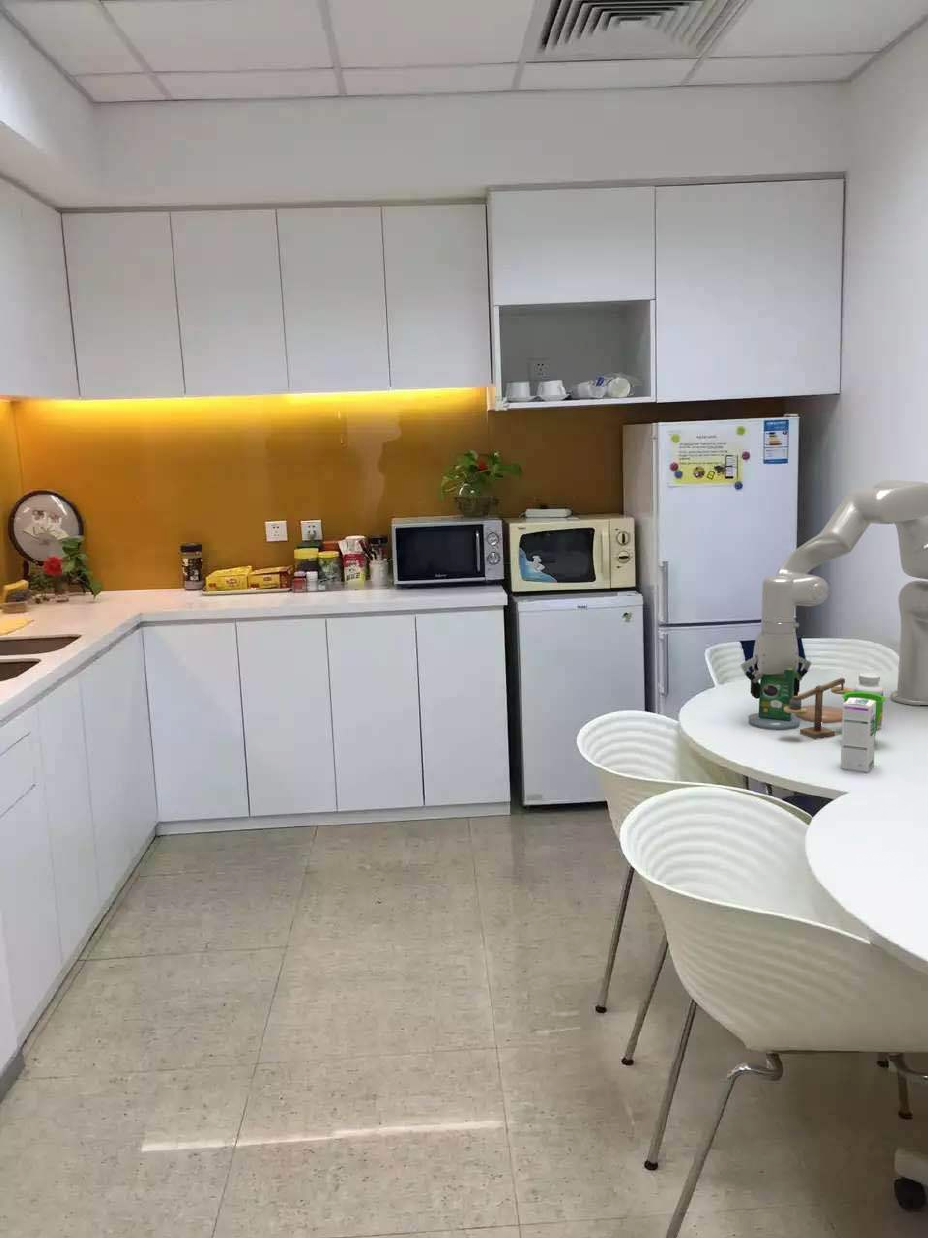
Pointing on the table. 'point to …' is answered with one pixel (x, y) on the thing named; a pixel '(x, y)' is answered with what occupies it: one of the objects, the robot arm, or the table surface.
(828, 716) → the dish
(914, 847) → the table surface
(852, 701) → the syrup box
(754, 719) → the dish
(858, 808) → the table surface
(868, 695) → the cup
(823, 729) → the balance
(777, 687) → the coffee box
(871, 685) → the supplement bottle
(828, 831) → the table surface
